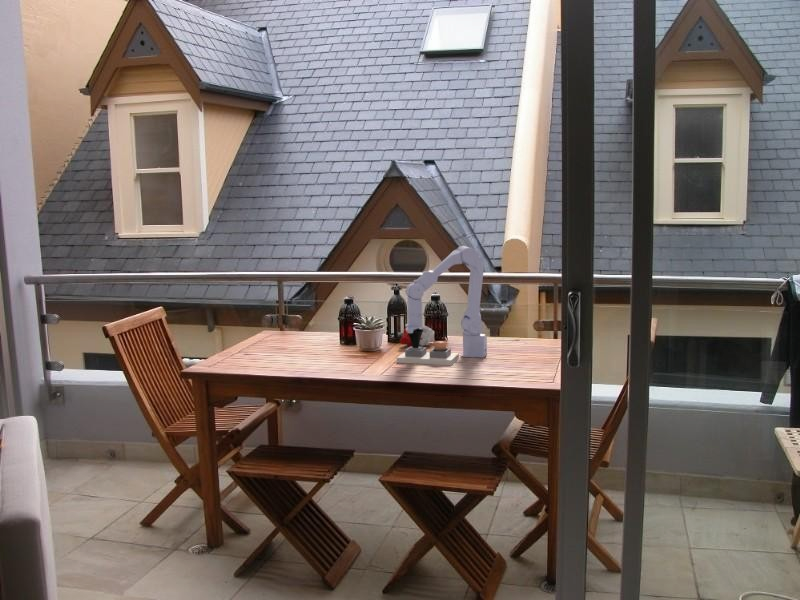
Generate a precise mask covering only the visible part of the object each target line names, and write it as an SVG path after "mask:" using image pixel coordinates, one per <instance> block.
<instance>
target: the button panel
mask: <svg viewBox="0 0 800 600" xmlns="http://www.w3.org/2000/svg"><path fill="white" fill-rule="evenodd" d="M410 347H411V346H409V347H407V348H406V349H404V352H402V354H400V355H399V356H397V357H396V363H398V364H414V365H415V364H420V365H436V366H437V365H438V366H440V365H441V366H452V365H453V364H454V363H456V362H457V361H458V360H459V359H460V354H459V352H452V351H451V350H452V348H449V347H446V349H444V350H436V349H434V347H433V348H431V349H430V350H429V351H427V346H426V347H425V346H421V347H422V350H421V351H418V350H410Z"/></svg>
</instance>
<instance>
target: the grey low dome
mask: <svg viewBox="0 0 800 600" xmlns="http://www.w3.org/2000/svg"><path fill="white" fill-rule="evenodd" d="M409 347H410V350H418V351H421V350H422V347H423V346H421V345H419V347H418V348H413V347H412V346H409Z"/></svg>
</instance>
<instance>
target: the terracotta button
mask: <svg viewBox="0 0 800 600" xmlns="http://www.w3.org/2000/svg"><path fill="white" fill-rule="evenodd" d="M433 343H434V345H433V348H434V349H436V350H444V349H446V348H447V342H446V341H445V340H444V341H443V340H437V341H434V342H433Z"/></svg>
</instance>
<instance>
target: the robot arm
mask: <svg viewBox="0 0 800 600" xmlns="http://www.w3.org/2000/svg"><path fill="white" fill-rule="evenodd" d="M462 264H464V265H465V266H466V268H467V269H469V270H470V271H469V272H470V273H469V280H468V281H469V282H468V291H467V300H466V301H467V302H466V309H465V311H464V313H463V317H462V319H461V321H460V326H461V328H462V329H463V331H462V353H461V354H459V357H462V358H465V357H466V358H482V359H483V358H484V357H486V355H487V354H488V339H487V334H485V333H481V332H482V330H483V323H482V314H481V312H480V307H481V298H482V288H483V281H484V280H483V278H484V269H485V267H484V266H485V265H484V264H483V262H482V260H481V257H480V254H479V252H478V251H477V250H476V249H474V248H473V247H469V246H465V245H460V246H458V247H457V248H456V249H454V250H453V251H452V252H450V254H448V256H446V257H445V258H444V259H443V260H442V261H441V262H440V263H439V264H438V265H437V266H435V267H434V268H433V269H432V270H427V271H426V270H424V271H423V272H422V275H420V276H419V277H418V278H417V279H414V280H413V282H412V283H409V284H408V285H407V286H406V288H405V290H404V292H405V294H406V296H407V305H406V307H407V323H406V324H404V327H405V328H407V333H408V335H409V337H410V339H411V343H412V346H411V347H413V348H418V347H419V346H420V345H419V343H420V338H421V335H422V333H423V329H419V328H422V327H423V325H424V321H423V302H422V298H423V296H424V292H425V293H426V291H428V290H429V289H430V288H431V287H432V286H434V285H435V284H436V283H437V282H438V277H439V276H441V275H442V274H444V273H445V272H446V271H447V270H449V269H450V268H451V267H453V266H454V265H462Z"/></svg>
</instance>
